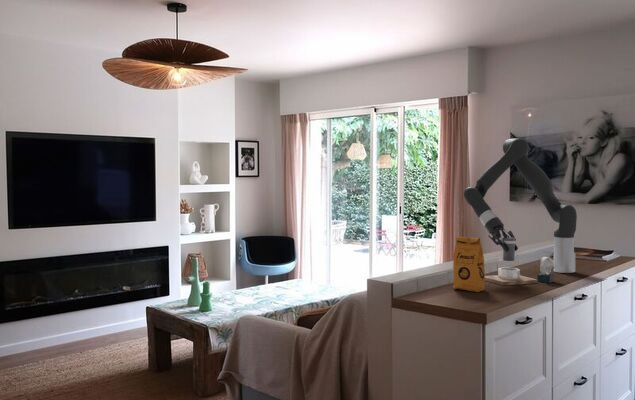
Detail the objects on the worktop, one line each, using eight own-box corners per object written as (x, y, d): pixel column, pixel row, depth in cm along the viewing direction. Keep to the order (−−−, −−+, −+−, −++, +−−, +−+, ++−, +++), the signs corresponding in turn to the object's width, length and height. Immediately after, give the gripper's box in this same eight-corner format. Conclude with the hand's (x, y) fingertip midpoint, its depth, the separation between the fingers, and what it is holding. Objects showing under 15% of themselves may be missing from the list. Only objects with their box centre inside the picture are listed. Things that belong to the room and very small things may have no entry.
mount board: (514, 277, 269) (514, 274, 269) (537, 283, 253) (537, 279, 253) (481, 279, 263) (481, 276, 263) (502, 285, 248) (502, 282, 248)
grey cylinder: (509, 259, 261) (510, 237, 261) (517, 260, 256) (517, 238, 256) (500, 259, 260) (500, 237, 259) (507, 261, 255) (507, 238, 254)
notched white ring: (511, 275, 264) (511, 267, 264) (523, 279, 255) (523, 270, 255) (494, 276, 261) (494, 268, 261) (506, 280, 253) (506, 271, 252)
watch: (555, 280, 259) (555, 256, 258) (548, 283, 253) (548, 258, 253) (542, 279, 263) (543, 255, 262) (535, 281, 257) (535, 257, 256)
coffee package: (476, 293, 230) (476, 239, 230) (449, 289, 239) (449, 237, 239) (489, 290, 237) (489, 237, 237) (462, 286, 246) (462, 235, 246)
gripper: (485, 217, 260) (506, 246, 250) (506, 216, 268) (527, 244, 258) (476, 227, 264) (496, 256, 255) (497, 226, 272) (517, 254, 262)
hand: (512, 250), depth 256 cm, fingers closed on grey cylinder, 5 cm apart
